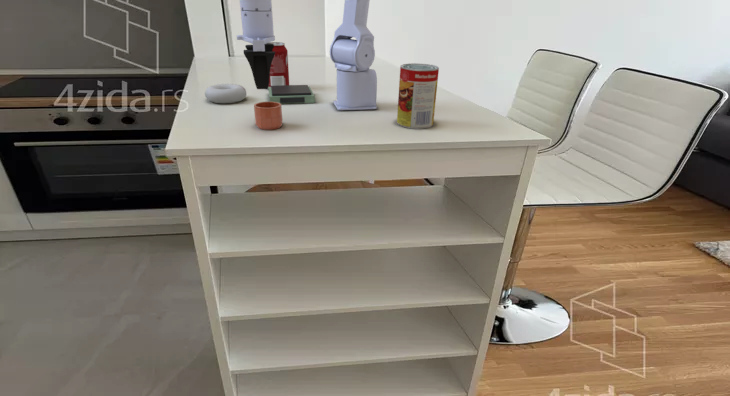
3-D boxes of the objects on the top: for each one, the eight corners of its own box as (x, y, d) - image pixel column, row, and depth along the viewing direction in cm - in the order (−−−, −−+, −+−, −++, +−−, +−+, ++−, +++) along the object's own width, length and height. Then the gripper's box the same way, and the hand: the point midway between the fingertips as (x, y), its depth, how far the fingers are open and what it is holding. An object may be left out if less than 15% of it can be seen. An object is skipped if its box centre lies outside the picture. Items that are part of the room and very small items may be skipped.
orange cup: (282, 122, 90) (280, 101, 88) (283, 129, 86) (281, 107, 84) (256, 123, 89) (254, 101, 87) (255, 130, 85) (253, 108, 83)
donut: (197, 103, 103) (236, 106, 101) (195, 89, 101) (234, 91, 100) (218, 94, 112) (254, 96, 110) (216, 81, 110) (252, 83, 108)
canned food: (419, 116, 97) (424, 62, 92) (440, 126, 91) (446, 68, 85) (390, 120, 94) (393, 64, 88) (409, 130, 87) (414, 70, 82)
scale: (310, 93, 116) (309, 84, 114) (314, 103, 106) (314, 93, 105) (269, 94, 113) (268, 85, 112) (269, 104, 103) (269, 94, 102)
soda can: (287, 90, 117) (284, 45, 112) (262, 90, 117) (259, 44, 112) (291, 85, 123) (289, 42, 118) (268, 85, 123) (264, 41, 118)
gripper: (236, 8, 84) (243, 77, 90) (231, 12, 72) (240, 93, 78) (272, 8, 86) (276, 77, 92) (274, 13, 73) (279, 92, 79)
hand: (262, 84), depth 85 cm, fingers open, 7 cm apart
